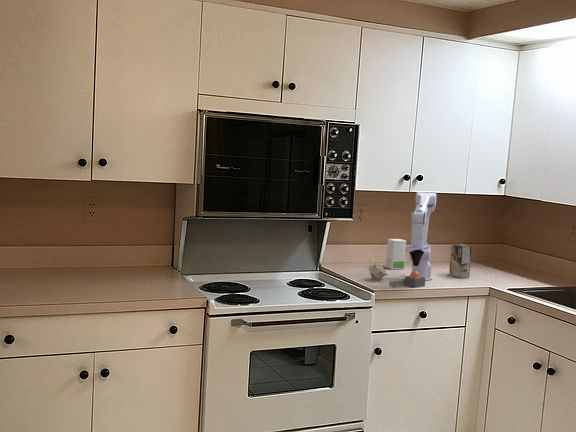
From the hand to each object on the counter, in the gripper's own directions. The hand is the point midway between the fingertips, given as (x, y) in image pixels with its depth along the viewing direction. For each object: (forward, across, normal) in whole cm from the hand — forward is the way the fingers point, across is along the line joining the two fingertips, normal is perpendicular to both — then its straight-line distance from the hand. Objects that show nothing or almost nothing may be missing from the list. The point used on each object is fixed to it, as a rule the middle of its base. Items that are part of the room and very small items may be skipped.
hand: (415, 265), depth 307 cm
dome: (+8, 0, 0) cm, 8 cm away
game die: (+10, +7, -17) cm, 21 cm away
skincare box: (+10, -24, -31) cm, 41 cm away
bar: (+9, +8, -4) cm, 13 cm away
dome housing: (+9, 0, 0) cm, 9 cm away
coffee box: (+10, -38, -1) cm, 39 cm away
